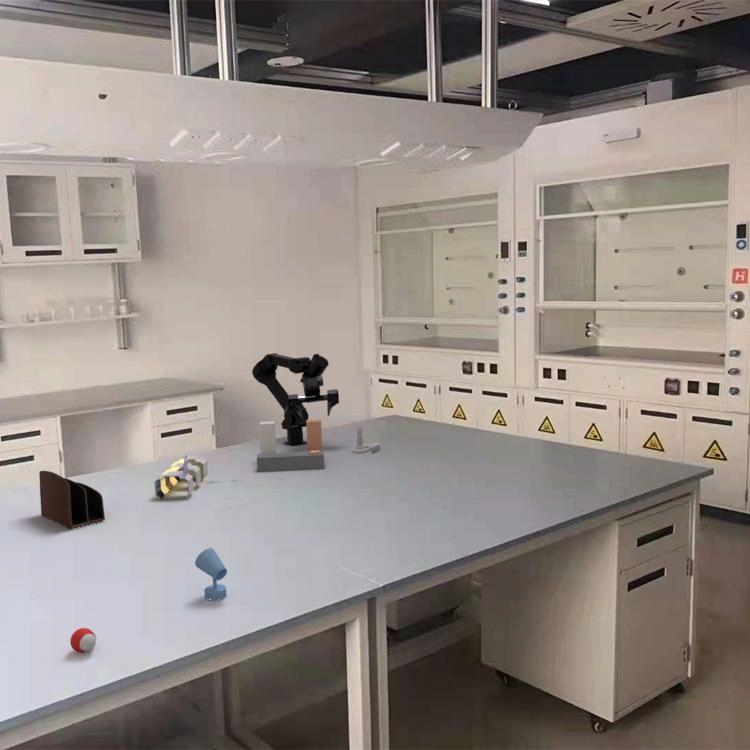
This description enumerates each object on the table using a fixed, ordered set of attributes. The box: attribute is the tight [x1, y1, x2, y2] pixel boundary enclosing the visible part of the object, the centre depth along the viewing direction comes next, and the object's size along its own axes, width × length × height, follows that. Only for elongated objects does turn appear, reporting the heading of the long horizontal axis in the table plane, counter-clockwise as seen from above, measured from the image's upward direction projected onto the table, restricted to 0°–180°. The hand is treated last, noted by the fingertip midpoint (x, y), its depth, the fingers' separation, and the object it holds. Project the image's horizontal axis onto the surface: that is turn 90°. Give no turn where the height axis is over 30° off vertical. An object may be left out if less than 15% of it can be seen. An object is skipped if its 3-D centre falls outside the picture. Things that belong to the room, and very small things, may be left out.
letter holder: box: [38, 470, 106, 530], centre depth 223 cm, size 10×20×14 cm, turn 44°
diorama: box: [154, 454, 209, 501], centre depth 250 cm, size 25×10×13 cm, turn 179°
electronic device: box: [352, 428, 381, 455], centre depth 290 cm, size 5×10×15 cm
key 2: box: [306, 419, 323, 451], centre depth 275 cm, size 4×5×14 cm
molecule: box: [69, 627, 97, 653], centre depth 145 cm, size 5×5×4 cm
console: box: [256, 450, 325, 473], centre depth 271 cm, size 16×22×7 cm
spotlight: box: [194, 547, 228, 601], centre depth 167 cm, size 5×10×7 cm
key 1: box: [258, 420, 277, 454], centre depth 273 cm, size 4×5×14 cm
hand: (315, 417), depth 285 cm, fingers open, 9 cm apart
